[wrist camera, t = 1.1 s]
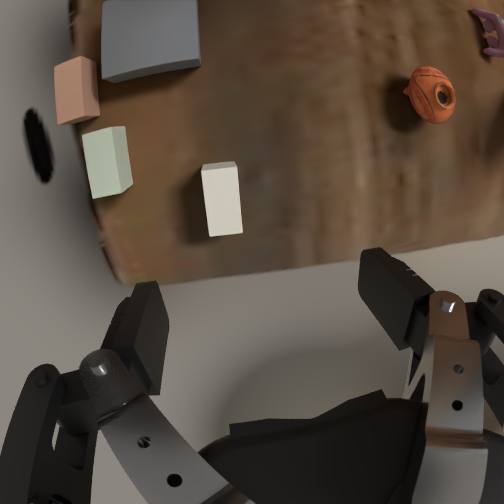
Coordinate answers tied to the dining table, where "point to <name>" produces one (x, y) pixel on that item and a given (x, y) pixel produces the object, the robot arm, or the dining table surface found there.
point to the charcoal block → (148, 37)
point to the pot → (431, 94)
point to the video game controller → (492, 23)
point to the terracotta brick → (76, 91)
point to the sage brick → (107, 161)
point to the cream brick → (222, 198)
